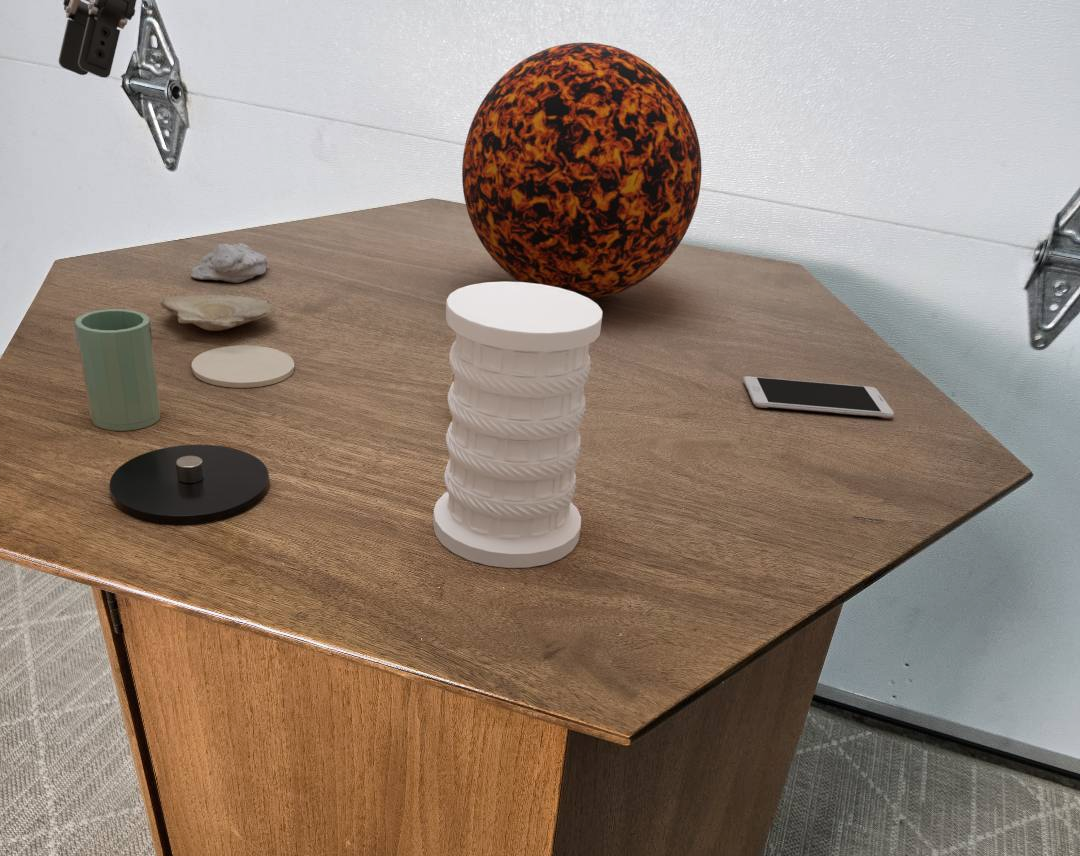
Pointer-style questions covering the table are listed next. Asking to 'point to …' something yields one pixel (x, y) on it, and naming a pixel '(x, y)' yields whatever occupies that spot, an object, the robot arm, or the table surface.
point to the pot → (118, 369)
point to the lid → (189, 484)
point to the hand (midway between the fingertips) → (82, 72)
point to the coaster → (243, 366)
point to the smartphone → (817, 397)
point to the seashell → (216, 310)
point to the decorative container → (515, 422)
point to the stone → (230, 264)
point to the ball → (582, 169)
